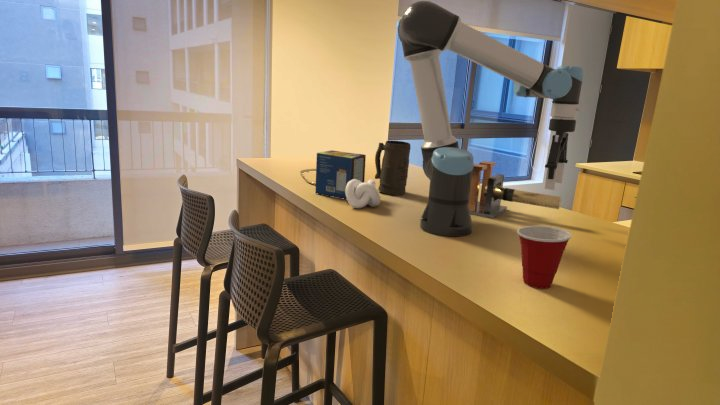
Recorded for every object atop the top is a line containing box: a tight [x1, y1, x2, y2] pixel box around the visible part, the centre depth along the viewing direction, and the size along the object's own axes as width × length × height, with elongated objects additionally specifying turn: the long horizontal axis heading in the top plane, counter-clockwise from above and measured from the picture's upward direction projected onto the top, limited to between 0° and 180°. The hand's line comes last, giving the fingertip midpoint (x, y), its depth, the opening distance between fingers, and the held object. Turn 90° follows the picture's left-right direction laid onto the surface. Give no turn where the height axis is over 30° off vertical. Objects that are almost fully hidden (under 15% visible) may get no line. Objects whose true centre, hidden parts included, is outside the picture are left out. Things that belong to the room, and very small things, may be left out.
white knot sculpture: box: [345, 178, 381, 209], centre depth 157 cm, size 11×12×9 cm
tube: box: [484, 185, 562, 210], centre depth 153 cm, size 4×24×4 cm, turn 58°
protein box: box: [315, 150, 367, 200], centre depth 171 cm, size 10×15×16 cm
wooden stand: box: [469, 160, 508, 219], centre depth 160 cm, size 16×18×16 cm
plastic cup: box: [516, 225, 572, 290], centre depth 99 cm, size 11×11×12 cm
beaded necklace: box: [299, 168, 316, 186], centre depth 201 cm, size 19×35×2 cm, turn 16°
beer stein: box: [374, 140, 412, 196], centre depth 180 cm, size 15×11×20 cm
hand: (553, 185), depth 147 cm, fingers open, 13 cm apart
